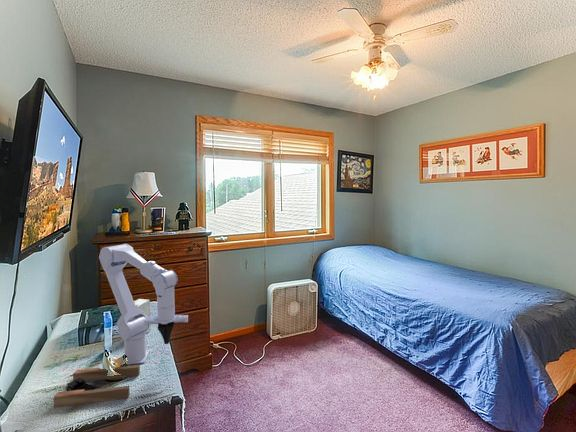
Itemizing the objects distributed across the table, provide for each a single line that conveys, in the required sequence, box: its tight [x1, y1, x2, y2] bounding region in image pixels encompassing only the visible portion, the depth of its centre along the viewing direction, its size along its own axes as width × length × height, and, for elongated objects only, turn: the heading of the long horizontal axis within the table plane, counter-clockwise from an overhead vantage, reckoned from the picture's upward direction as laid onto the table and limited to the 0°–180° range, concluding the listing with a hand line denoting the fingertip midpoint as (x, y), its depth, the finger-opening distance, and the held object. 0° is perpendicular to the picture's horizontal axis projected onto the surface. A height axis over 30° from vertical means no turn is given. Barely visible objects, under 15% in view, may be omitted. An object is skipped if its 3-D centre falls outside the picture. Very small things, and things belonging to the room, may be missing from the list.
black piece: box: [65, 378, 98, 391], centre depth 96 cm, size 12×7×5 cm, turn 155°
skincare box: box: [128, 298, 152, 334], centre depth 137 cm, size 8×6×15 cm
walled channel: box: [53, 364, 141, 408], centre depth 98 cm, size 14×20×3 cm
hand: (167, 342), depth 110 cm, fingers closed
